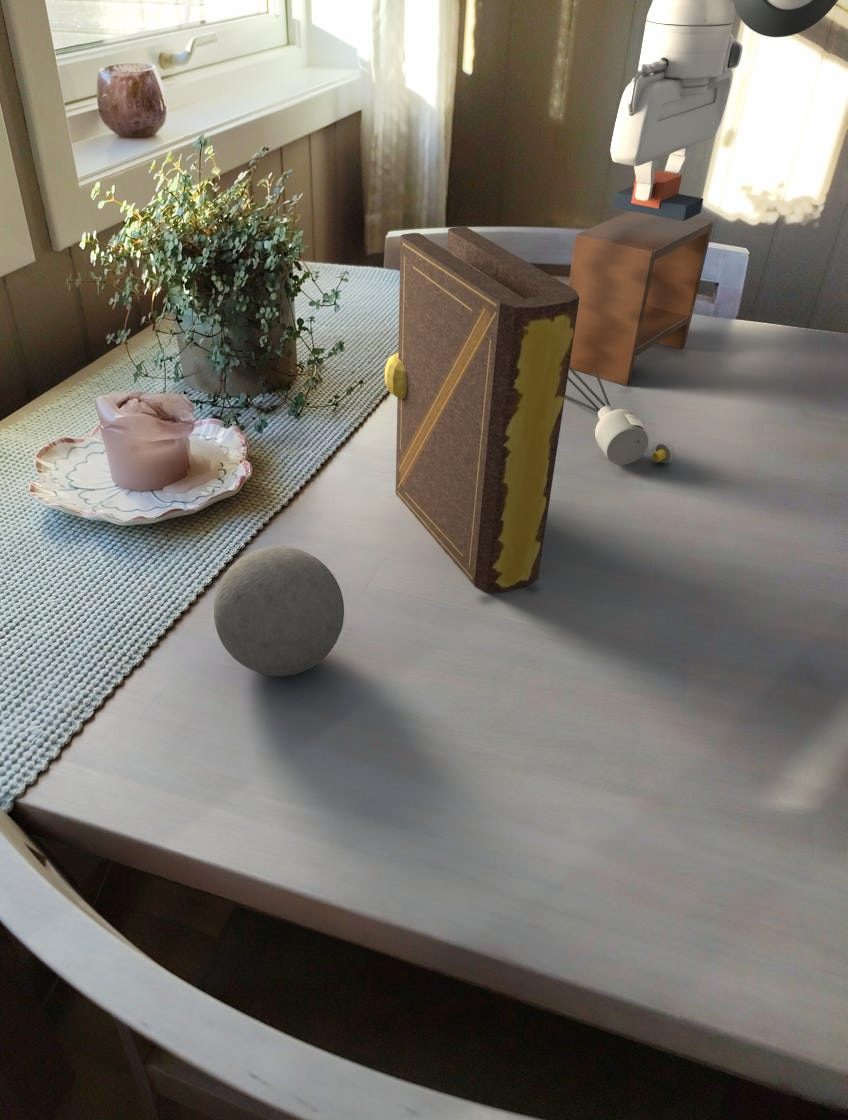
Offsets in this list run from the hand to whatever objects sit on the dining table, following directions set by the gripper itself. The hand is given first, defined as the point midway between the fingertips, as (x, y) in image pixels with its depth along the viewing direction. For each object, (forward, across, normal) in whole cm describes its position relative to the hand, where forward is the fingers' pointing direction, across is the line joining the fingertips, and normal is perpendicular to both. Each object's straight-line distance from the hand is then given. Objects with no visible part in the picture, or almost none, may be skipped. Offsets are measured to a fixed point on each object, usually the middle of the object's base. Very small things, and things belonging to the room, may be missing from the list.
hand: (656, 193), depth 105 cm
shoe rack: (+20, 0, 0) cm, 20 cm away
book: (+20, -47, -8) cm, 52 cm away
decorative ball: (+20, -72, -9) cm, 75 cm away
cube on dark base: (+2, 0, 0) cm, 2 cm away
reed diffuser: (+20, -20, -8) cm, 29 cm away
